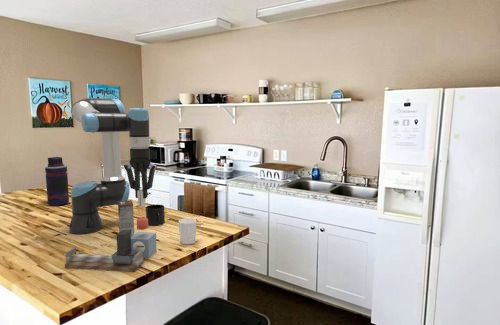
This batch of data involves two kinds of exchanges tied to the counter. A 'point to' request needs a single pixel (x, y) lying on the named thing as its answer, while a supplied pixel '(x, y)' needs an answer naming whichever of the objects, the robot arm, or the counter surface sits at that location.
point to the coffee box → (126, 216)
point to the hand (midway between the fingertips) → (141, 205)
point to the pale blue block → (144, 243)
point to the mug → (155, 215)
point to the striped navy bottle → (56, 182)
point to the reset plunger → (142, 223)
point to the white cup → (187, 230)
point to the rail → (100, 262)
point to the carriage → (124, 248)
